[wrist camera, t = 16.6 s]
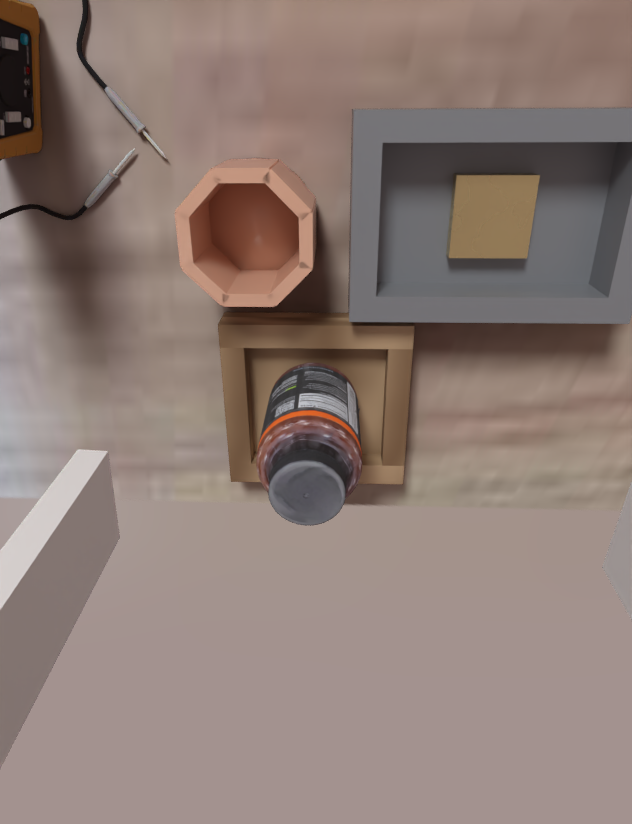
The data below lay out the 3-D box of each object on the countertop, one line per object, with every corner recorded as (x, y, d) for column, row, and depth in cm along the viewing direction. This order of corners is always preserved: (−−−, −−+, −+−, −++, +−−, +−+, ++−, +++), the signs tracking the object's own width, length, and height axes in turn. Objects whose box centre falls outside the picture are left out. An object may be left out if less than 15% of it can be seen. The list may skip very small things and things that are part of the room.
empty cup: (206, 277, 38) (184, 306, 33) (195, 158, 35) (169, 168, 29) (316, 278, 38) (313, 306, 32) (316, 157, 35) (312, 167, 29)
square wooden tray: (236, 462, 44) (230, 481, 42) (224, 312, 39) (217, 324, 37) (399, 465, 44) (403, 484, 42) (410, 313, 39) (414, 326, 36)
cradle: (348, 301, 38) (349, 321, 35) (352, 109, 33) (353, 109, 30) (602, 303, 38) (629, 323, 34) (645, 107, 33) (682, 108, 29)
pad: (446, 254, 36) (448, 258, 35) (453, 173, 34) (456, 175, 33) (522, 254, 36) (527, 258, 35) (534, 173, 34) (540, 175, 33)
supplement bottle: (329, 452, 42) (325, 560, 32) (254, 412, 41) (227, 512, 31) (375, 386, 40) (387, 480, 30) (297, 342, 39) (282, 425, 29)
